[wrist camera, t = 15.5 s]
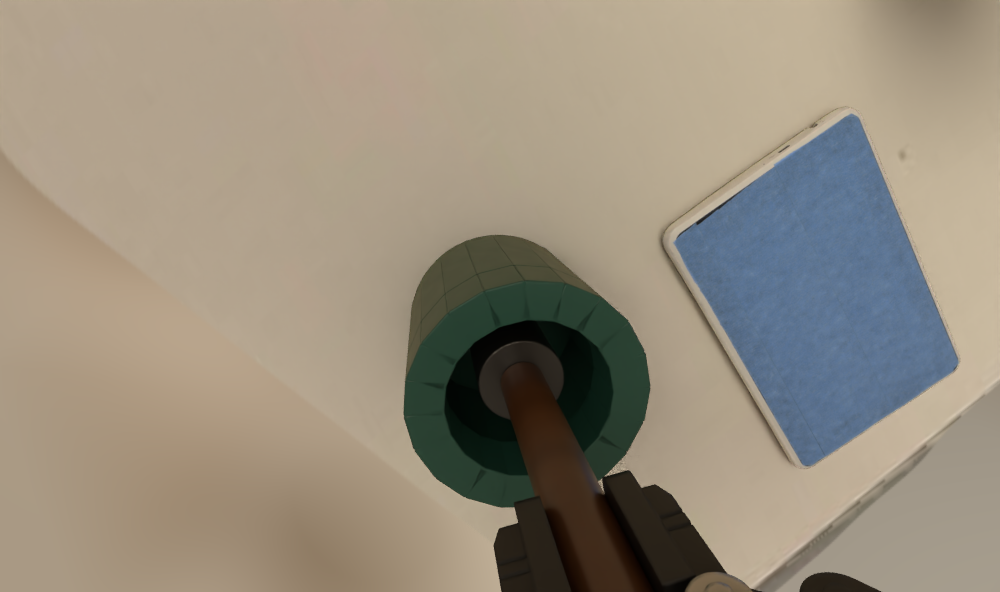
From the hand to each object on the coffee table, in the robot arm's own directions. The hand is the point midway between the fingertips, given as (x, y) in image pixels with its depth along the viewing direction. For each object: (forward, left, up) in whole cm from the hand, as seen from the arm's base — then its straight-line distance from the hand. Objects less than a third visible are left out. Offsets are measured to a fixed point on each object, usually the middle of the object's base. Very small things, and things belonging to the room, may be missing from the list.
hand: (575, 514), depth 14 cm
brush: (0, 0, -13) cm, 13 cm away
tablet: (+19, -4, -17) cm, 26 cm away
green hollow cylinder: (0, 0, -16) cm, 16 cm away
